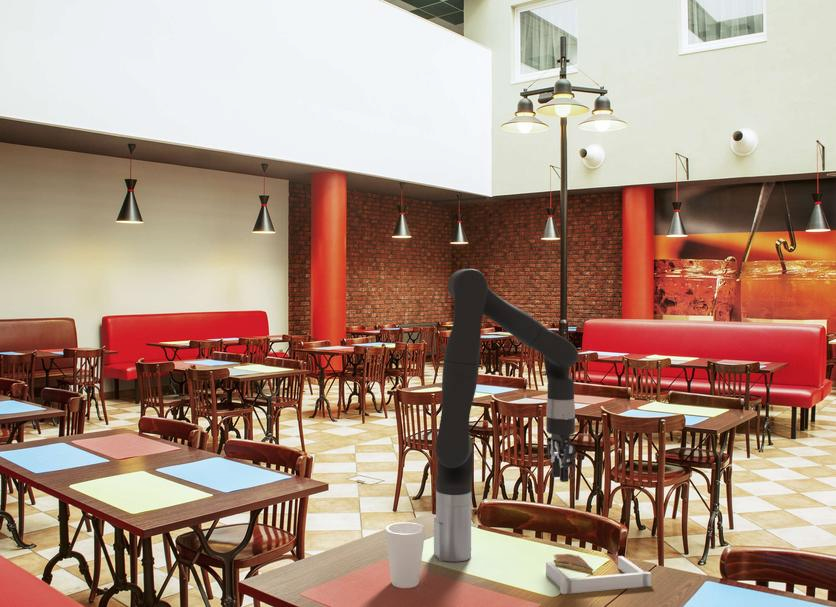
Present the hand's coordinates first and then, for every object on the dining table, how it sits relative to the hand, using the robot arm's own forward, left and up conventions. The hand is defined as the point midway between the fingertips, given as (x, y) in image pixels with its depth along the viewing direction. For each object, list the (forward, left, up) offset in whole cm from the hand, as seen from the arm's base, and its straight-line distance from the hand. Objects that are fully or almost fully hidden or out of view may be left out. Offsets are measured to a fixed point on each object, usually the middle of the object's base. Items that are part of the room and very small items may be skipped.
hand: (560, 478), depth 198 cm
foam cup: (-45, -13, -20) cm, 51 cm away
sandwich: (0, -10, -20) cm, 22 cm away
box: (0, -21, -19) cm, 29 cm away
